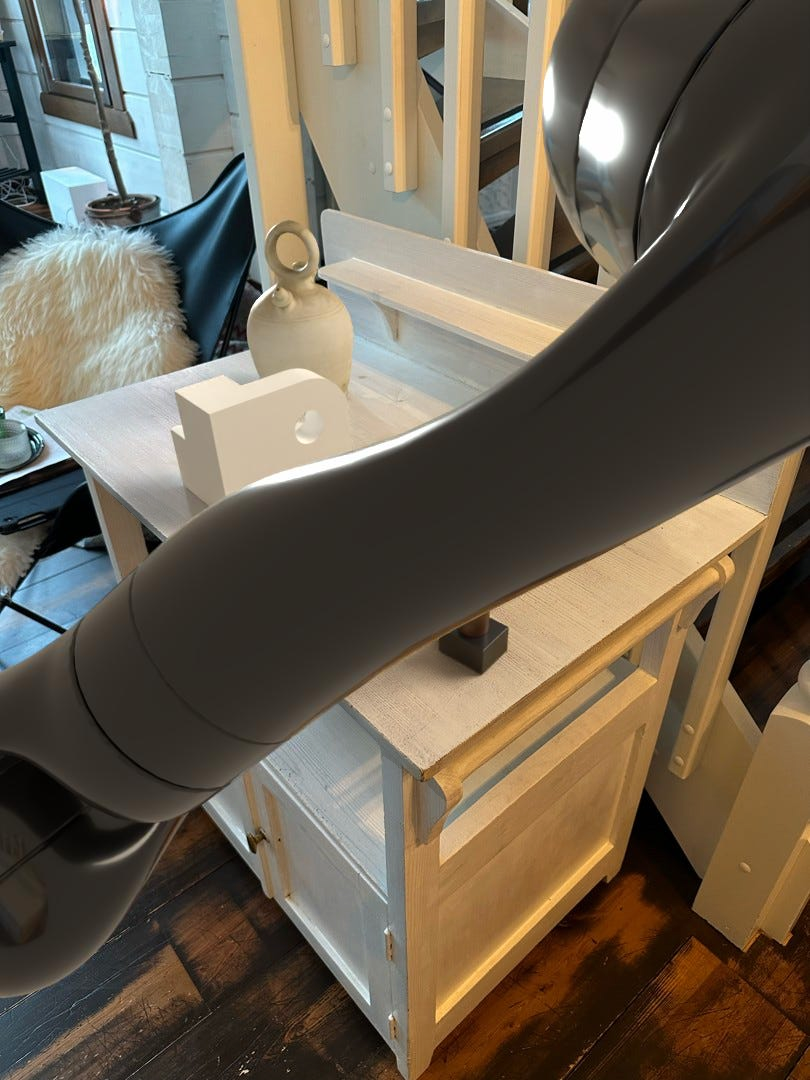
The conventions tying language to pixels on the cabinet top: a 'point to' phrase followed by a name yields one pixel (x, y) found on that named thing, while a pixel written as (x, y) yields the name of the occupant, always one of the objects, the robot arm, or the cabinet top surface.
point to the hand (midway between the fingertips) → (437, 504)
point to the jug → (300, 318)
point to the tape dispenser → (256, 429)
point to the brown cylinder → (476, 643)
